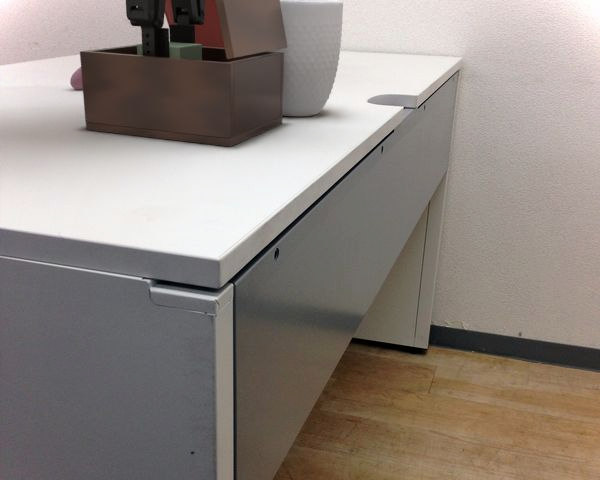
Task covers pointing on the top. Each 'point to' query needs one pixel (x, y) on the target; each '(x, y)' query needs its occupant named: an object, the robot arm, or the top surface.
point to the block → (180, 50)
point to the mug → (310, 53)
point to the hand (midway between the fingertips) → (171, 89)
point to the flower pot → (209, 30)
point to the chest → (182, 94)
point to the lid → (251, 26)
